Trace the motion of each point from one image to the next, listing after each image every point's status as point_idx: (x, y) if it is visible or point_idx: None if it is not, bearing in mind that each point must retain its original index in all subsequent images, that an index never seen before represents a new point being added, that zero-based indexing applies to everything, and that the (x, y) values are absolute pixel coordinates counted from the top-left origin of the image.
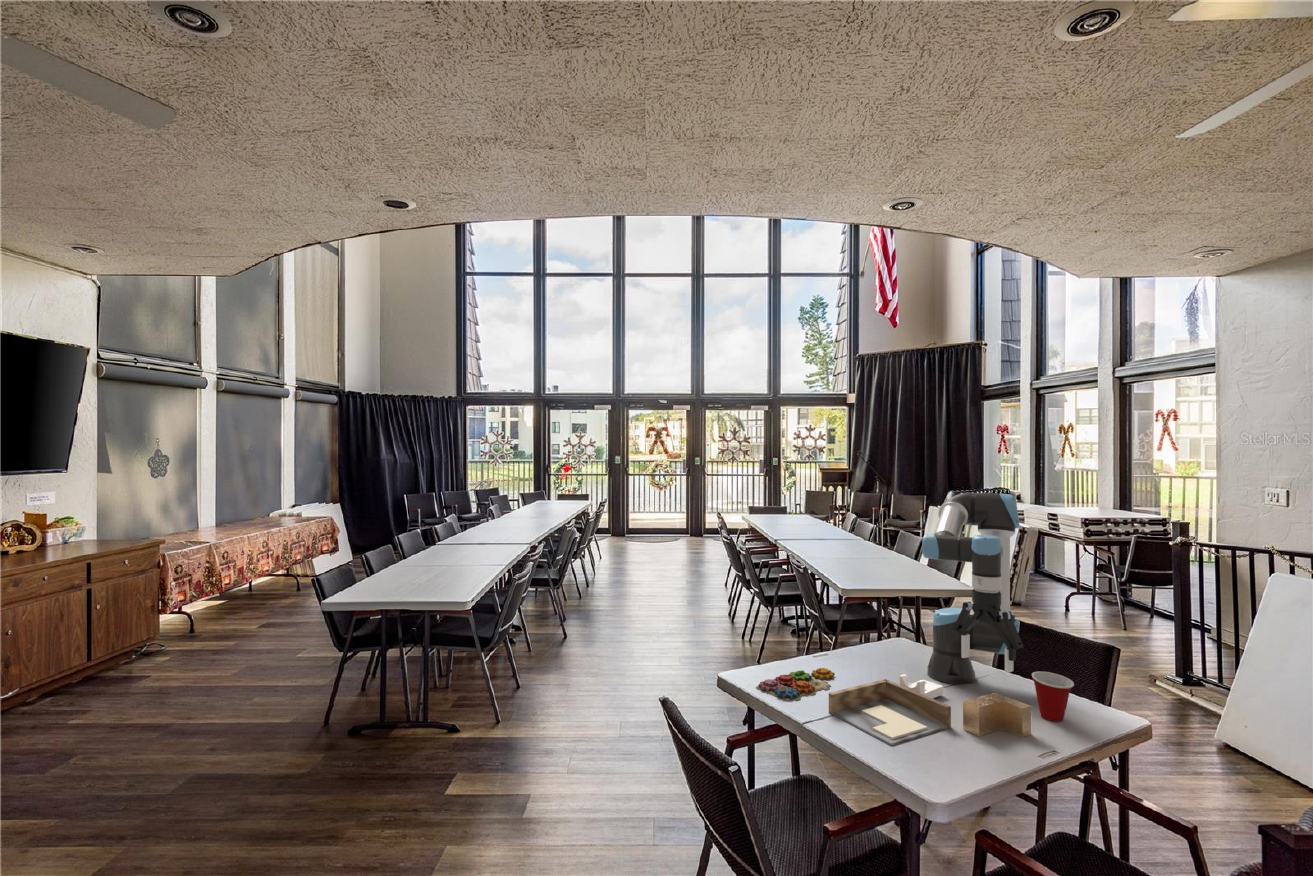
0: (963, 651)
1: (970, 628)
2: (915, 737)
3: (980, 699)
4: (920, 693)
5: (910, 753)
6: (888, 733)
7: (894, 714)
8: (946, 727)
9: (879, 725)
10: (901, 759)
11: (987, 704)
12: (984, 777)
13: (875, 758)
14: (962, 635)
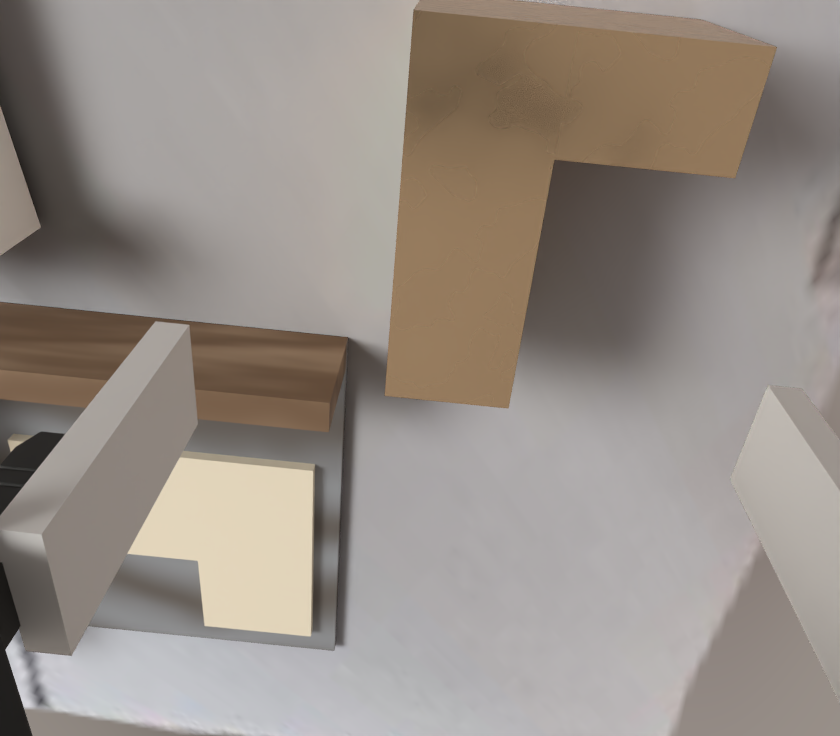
0: (166, 477)
1: (18, 698)
2: (339, 547)
3: (435, 274)
4: (2, 247)
5: (414, 638)
6: (277, 623)
7: None
8: (346, 373)
9: (202, 598)
10: (425, 682)
11: (517, 318)
12: (689, 601)
13: (371, 724)
14: (38, 648)
